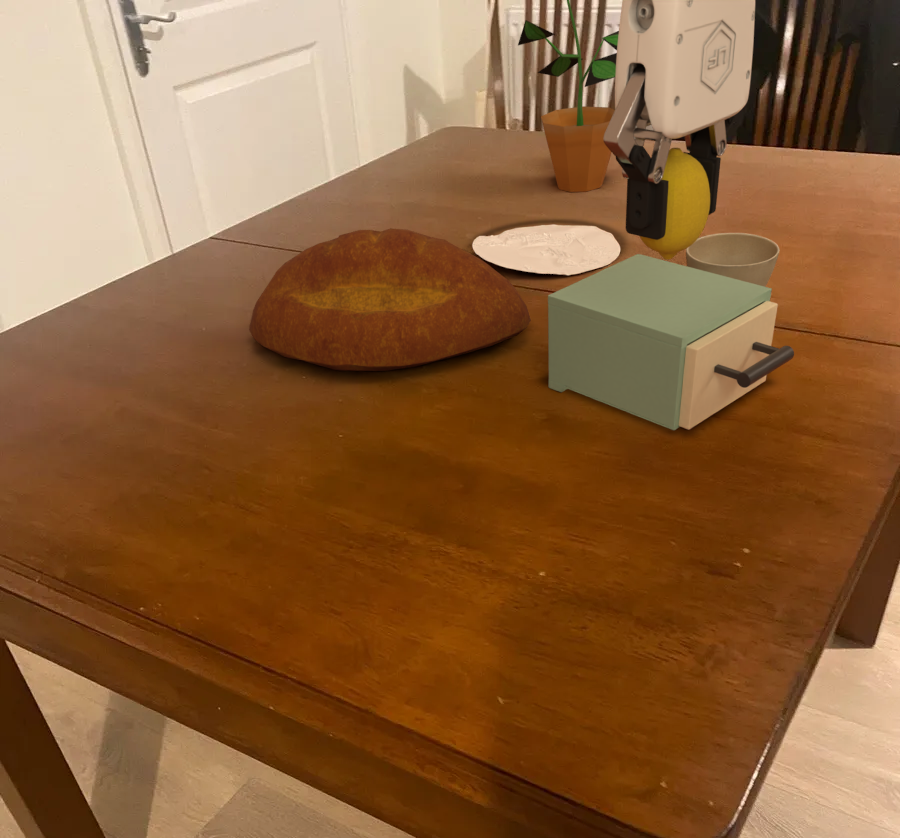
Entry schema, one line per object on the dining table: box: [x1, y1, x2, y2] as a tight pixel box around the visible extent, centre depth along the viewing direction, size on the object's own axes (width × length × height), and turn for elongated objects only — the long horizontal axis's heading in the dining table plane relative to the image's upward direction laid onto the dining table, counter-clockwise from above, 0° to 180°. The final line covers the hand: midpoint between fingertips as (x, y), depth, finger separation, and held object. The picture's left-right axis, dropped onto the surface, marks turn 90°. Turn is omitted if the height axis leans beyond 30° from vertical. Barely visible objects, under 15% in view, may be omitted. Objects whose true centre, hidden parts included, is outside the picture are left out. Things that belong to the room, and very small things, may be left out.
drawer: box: [679, 300, 795, 431], centre depth 88 cm, size 18×13×8 cm
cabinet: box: [547, 253, 773, 431], centre depth 90 cm, size 16×14×10 cm
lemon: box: [638, 147, 710, 261], centre depth 68 cm, size 6×6×8 cm
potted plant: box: [517, 0, 619, 193], centre depth 137 cm, size 18×19×30 cm
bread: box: [248, 227, 532, 372], centre depth 103 cm, size 21×33×12 cm, turn 80°
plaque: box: [472, 223, 621, 276], centre depth 125 cm, size 20×20×2 cm
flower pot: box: [685, 232, 780, 287], centre depth 104 cm, size 10×10×7 cm
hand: (671, 220), depth 69 cm, fingers closed on lemon, 5 cm apart
